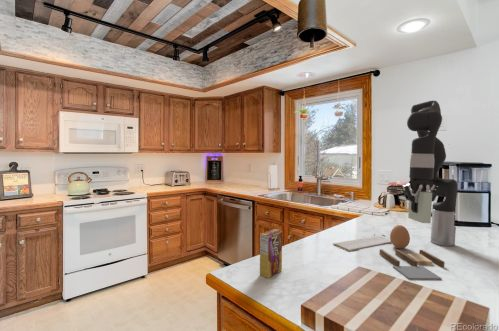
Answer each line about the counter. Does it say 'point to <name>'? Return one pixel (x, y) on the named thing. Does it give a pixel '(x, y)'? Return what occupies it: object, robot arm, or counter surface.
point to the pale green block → (422, 208)
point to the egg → (400, 237)
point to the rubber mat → (417, 273)
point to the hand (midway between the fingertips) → (419, 212)
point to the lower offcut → (425, 264)
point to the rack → (409, 259)
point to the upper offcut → (420, 259)
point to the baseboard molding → (362, 243)
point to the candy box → (270, 253)
